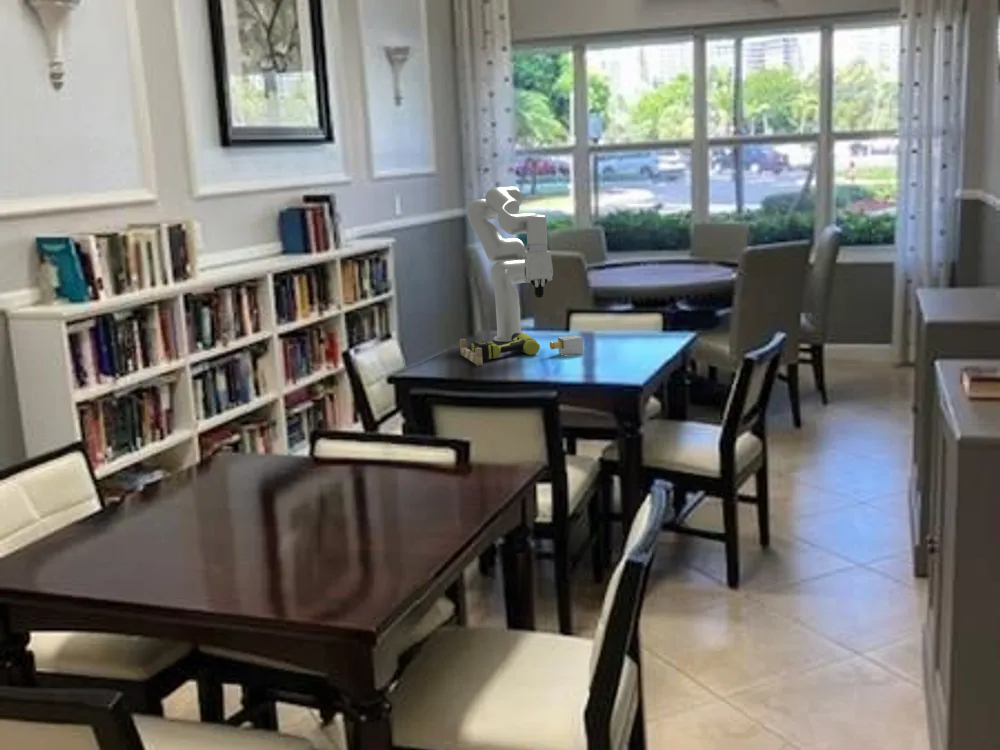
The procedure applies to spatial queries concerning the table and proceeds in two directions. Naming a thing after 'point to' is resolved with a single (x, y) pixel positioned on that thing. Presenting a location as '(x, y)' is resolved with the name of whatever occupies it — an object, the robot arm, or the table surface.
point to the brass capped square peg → (556, 345)
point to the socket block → (571, 345)
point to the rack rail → (471, 353)
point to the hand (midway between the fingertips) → (539, 296)
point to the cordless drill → (507, 346)
